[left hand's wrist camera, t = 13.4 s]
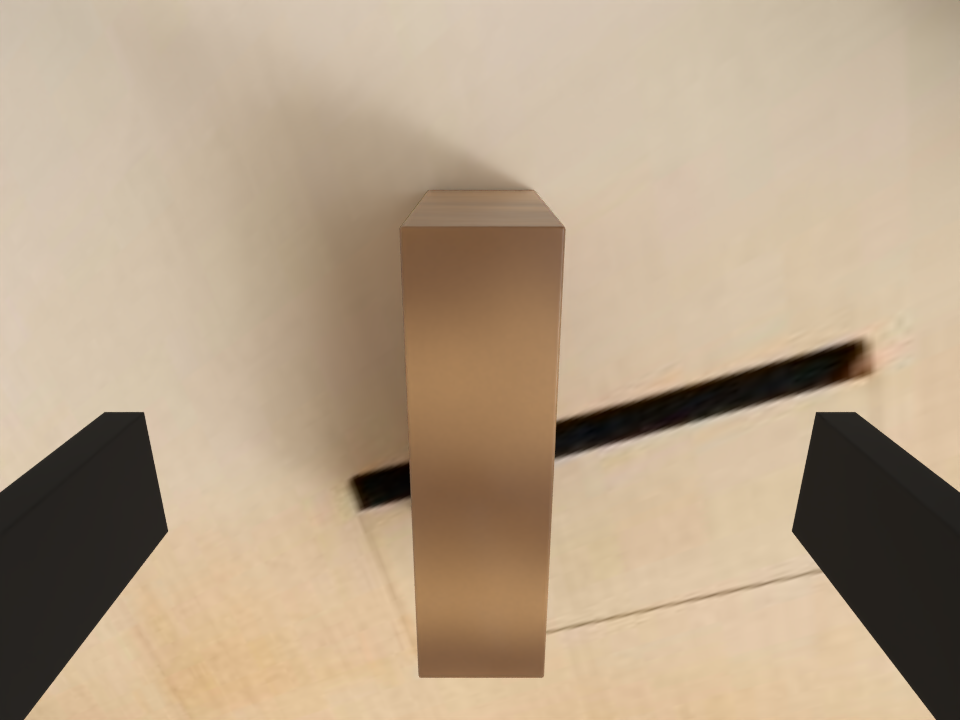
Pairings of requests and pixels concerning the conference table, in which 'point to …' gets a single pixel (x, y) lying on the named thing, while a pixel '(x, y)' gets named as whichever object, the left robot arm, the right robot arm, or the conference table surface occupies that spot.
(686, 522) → the conference table surface
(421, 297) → the box
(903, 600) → the left robot arm
